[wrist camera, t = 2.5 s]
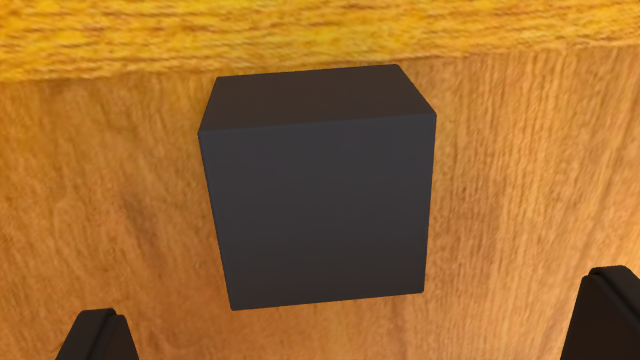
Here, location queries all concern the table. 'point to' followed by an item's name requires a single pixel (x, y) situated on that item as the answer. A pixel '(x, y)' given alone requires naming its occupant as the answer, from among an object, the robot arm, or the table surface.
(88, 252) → the table surface
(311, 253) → the black square block
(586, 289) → the robot arm
